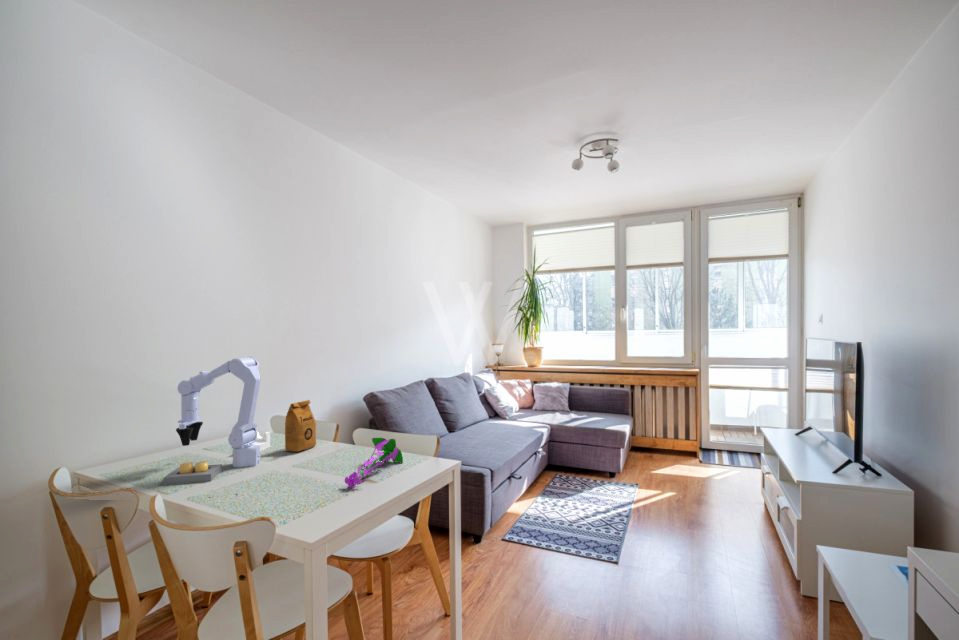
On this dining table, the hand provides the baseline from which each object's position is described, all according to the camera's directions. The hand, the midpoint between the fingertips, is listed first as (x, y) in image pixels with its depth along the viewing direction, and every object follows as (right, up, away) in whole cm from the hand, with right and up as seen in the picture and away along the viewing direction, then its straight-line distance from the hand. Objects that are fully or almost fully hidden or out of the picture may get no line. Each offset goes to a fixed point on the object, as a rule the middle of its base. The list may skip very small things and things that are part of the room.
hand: (189, 442), depth 176 cm
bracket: (+15, -10, +20) cm, 27 cm away
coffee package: (+36, -10, +23) cm, 43 cm away
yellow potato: (+16, -8, -17) cm, 24 cm away
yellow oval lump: (+11, -8, -18) cm, 22 cm away
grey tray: (+13, -9, -17) cm, 24 cm away
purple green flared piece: (+78, -10, -9) cm, 79 cm away
